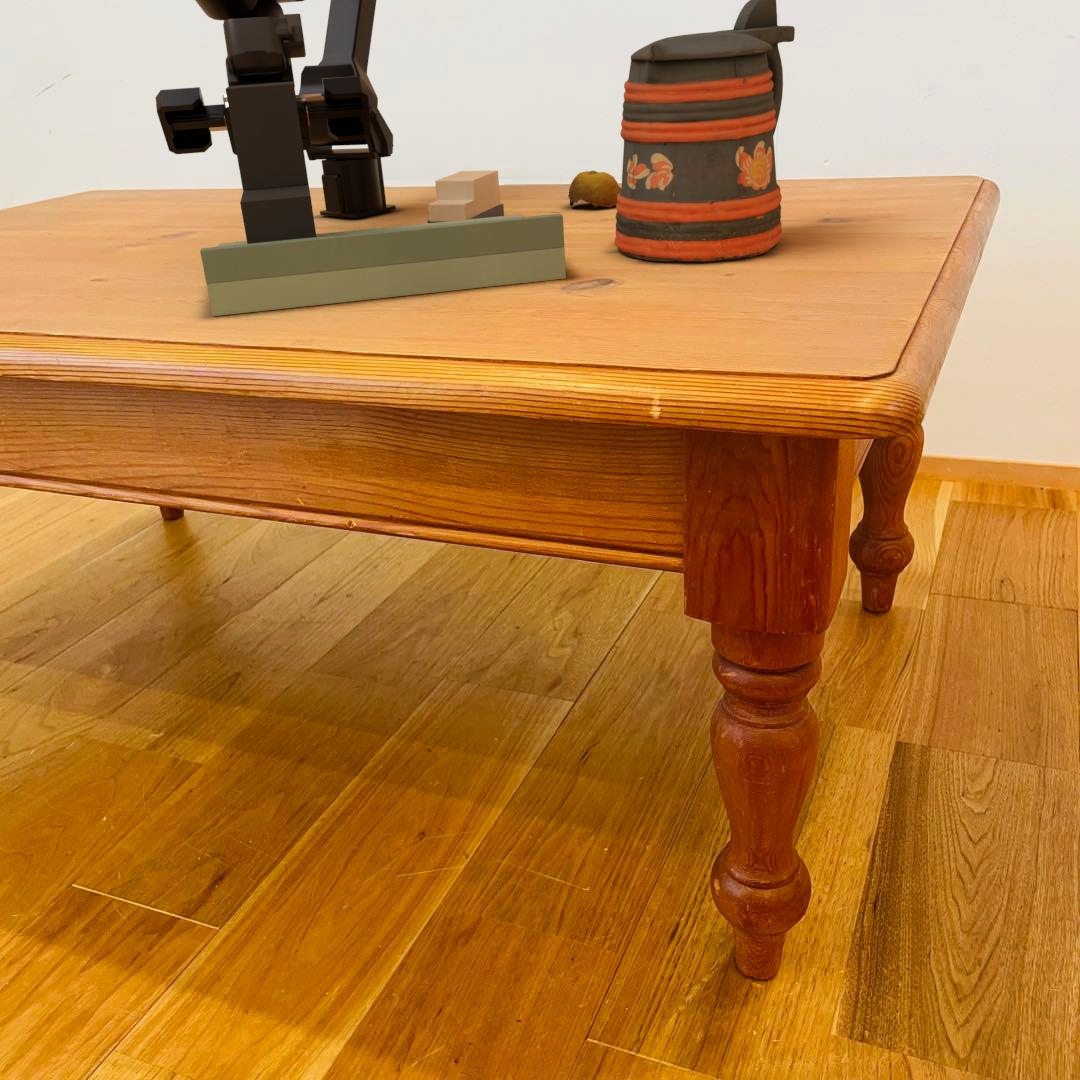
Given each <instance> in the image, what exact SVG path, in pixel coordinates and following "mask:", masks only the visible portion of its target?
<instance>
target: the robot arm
mask: <svg viewBox="0 0 1080 1080" xmlns="http://www.w3.org/2000/svg"><path fill="white" fill-rule="evenodd" d="M194 1H195V2H196V4H197V6H199V7H200V9H201V10H202V11H203V13H204V14H205V15H206V16H207V17H208V18H210V19H211V20H213V21H215V20H216V21H223V23H222V27H223V34H224V40H225V41H224V42H225V48H226V54H227V55H226V58H225V69H226V70H225V71H226V78H227V79H226V80H227V85H228V86H237V85H251V84H264V83H278V82H292V81H293V83H294V88H296V84H295V78H294V71H293V64H292V59H298V58H306V56H307V53H306V43H305V37H304V31H303V30H304V29H303V23H302V18H301V17H302V16H301V14H300V13H288V14H287V13H284V10H283V8H282V5H281V4H284V3H285V4H286V3H298V2H304V1H305V0H194ZM376 7H377V0H330V3H329V10H328V18H327V25H326V30H325V31H326V32H325V39H324V40H325V41H324V46H323V48H324V49H323V53H322V59H321V61H320V62H318V64H315V65H304V67H303V69H302V71H301V73H300V84H299V85H300V87H299V88H300V89H299V91H298V94H295V95H296V102H297V109H298V116H299V122H300V129H301V136H302V143H303V150H304V151H305V153H306V155H307V158H308V161H311V162H312V161H318V160H321V167H322V173H323V174H321V183H322V191H323V198H324V206H325V209H324V210H319V215H320V216H324V217H337V218H347V219H348V218H349V219H359V218H360V219H361V218H363V217H369V216H374V215H377V214H380V213H381V214H382V213H386V212H389V211H395V210H397V205H396V204H387V199H386V190H385V182H384V173H383V164H382V158H389V157H392V155H393V153H394V134H393V132H392V131H391V129H390V127H389V125H388V124H387V122H386V120H385V118H384V117H383V115H382V113H381V112H380V110H379V107H378V106H379V98H378V95H377V93H376V91H375V89H374V86H373V85H372V82H371V80H370V78H369V75H368V65H369V59H370V52H371V45H372V36H373V30H374V29H373V28H374V23H375V22H374V21H375V14H376ZM203 97H204V96H203V93H202V89H201V87H200V86H198V87H197V86H196V87H195V86H194V87H183V88H168V89H167V88H166V89H160V90H159V92H158V93H157V95H155V103H156V104H155V107H156V113H157V117H158V119H159V123H160V126H161V129H162V132H163V135H164V139H165V142H166V145H167V149H168V151H169V152H171V153H172V154H175V155H186V154H199V153H206V152H207V151H208V150H209V148H211V147H212V146H213V137H212V132H223V131H224V132H225V131H227V134H228V138H229V143H230V148H231V151H232V154H234V155H235V156H237V153H236V147H235V141H234V135H233V130H232V124H231V118H230V112H229V106H228V101H227V95H226V94H223V95H222V102H223V103H222V104H209V105H206V104H205V101H204V98H203ZM363 145H364V146H365V145H367V147H363V148H361V147H359V148H333V147H337V146H363Z"/></svg>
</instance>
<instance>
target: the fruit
mask: <svg viewBox="0 0 1080 1080" xmlns="http://www.w3.org/2000/svg"><path fill="white" fill-rule="evenodd" d="M621 188H622V186H621V185H619V184H618V181H617V180H616V179H615V177H614V176H613V175H611V174H610V173H608V172H605V171H601V172H599V171H596V170H588V171H587V170H586V171H581V172H579V173H578V174H577V175H576V176H574V178H573V179H572V181H571V183H570V186H569V189H568V195H567V196H568V200H569V206H570V207H573V206H574V204H579V203H578V202H580V201H583V202H586V203H591V205H592V206H593V207H595V208H597V207H599V206H600V207H603V208H612V207H614V206H616V205H617V202H618V201H617V195H618V194H619V193H620V192H621Z"/></svg>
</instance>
